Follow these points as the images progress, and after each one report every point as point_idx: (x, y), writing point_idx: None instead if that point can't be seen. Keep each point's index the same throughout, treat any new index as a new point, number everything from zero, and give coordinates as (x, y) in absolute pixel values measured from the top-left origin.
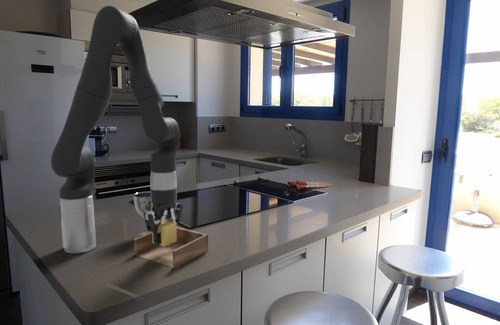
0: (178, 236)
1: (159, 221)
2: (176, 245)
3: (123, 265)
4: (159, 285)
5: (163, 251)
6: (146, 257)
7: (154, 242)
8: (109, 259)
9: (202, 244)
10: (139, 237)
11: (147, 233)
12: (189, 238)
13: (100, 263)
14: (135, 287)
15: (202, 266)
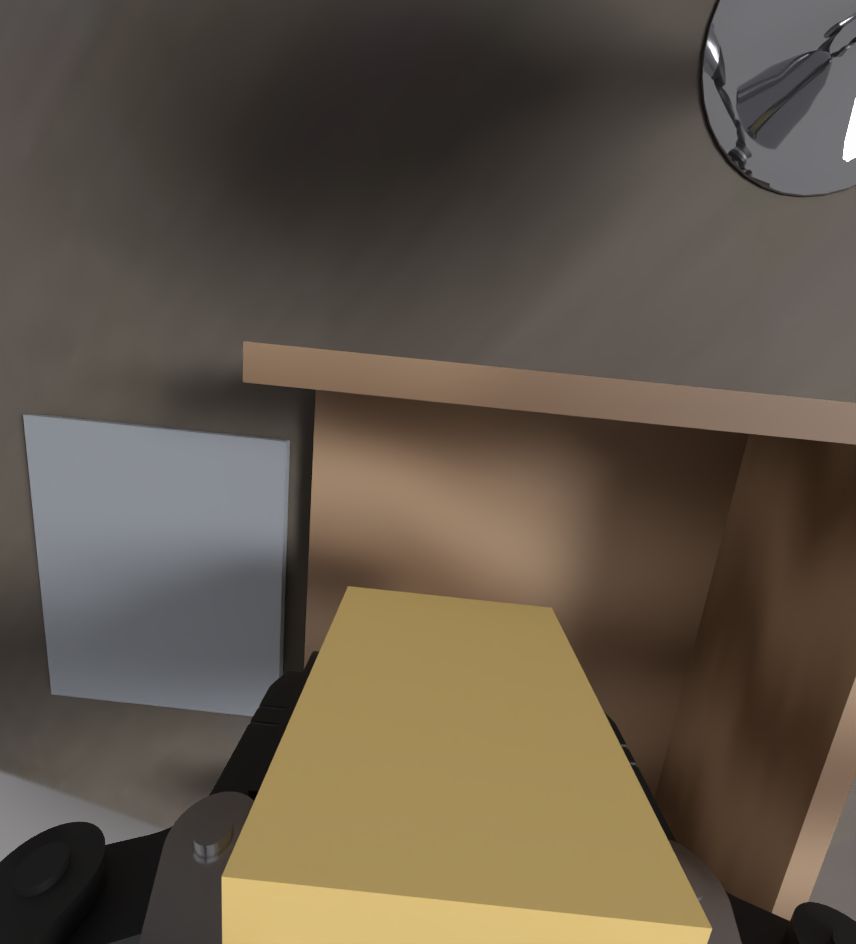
0: (771, 576)
1: (474, 926)
2: (655, 566)
3: (154, 401)
4: (110, 795)
5: (492, 546)
6: (326, 496)
7: (285, 682)
8: (159, 184)
9: None
10: (329, 372)
11: (845, 41)
12: (737, 726)
13: (61, 177)
14: (8, 697)
15: None
